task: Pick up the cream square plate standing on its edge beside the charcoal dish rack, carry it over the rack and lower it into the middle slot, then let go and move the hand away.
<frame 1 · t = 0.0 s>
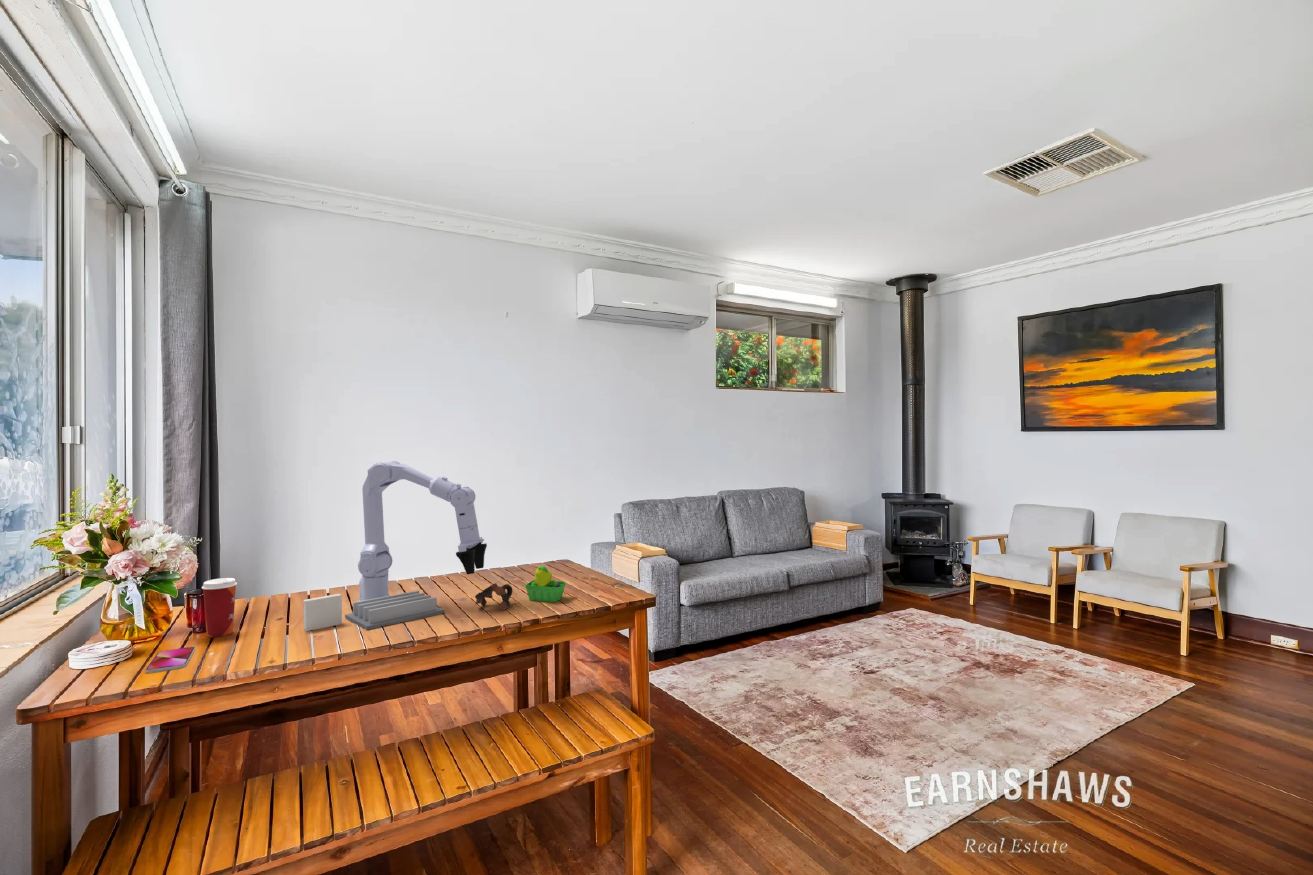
hand: (475, 570, 189), 11 cm above the table, tool pointing down, fingers open, 7 cm apart
paper cup: (219, 634, 163), on the table
smartphone: (171, 662, 144), on the table
fruit basket: (545, 600, 195), on the table
dish rack: (395, 615, 179), on the table
dark brown curved piece: (496, 607, 187), on the table
cream plate: (323, 626, 169), on the table
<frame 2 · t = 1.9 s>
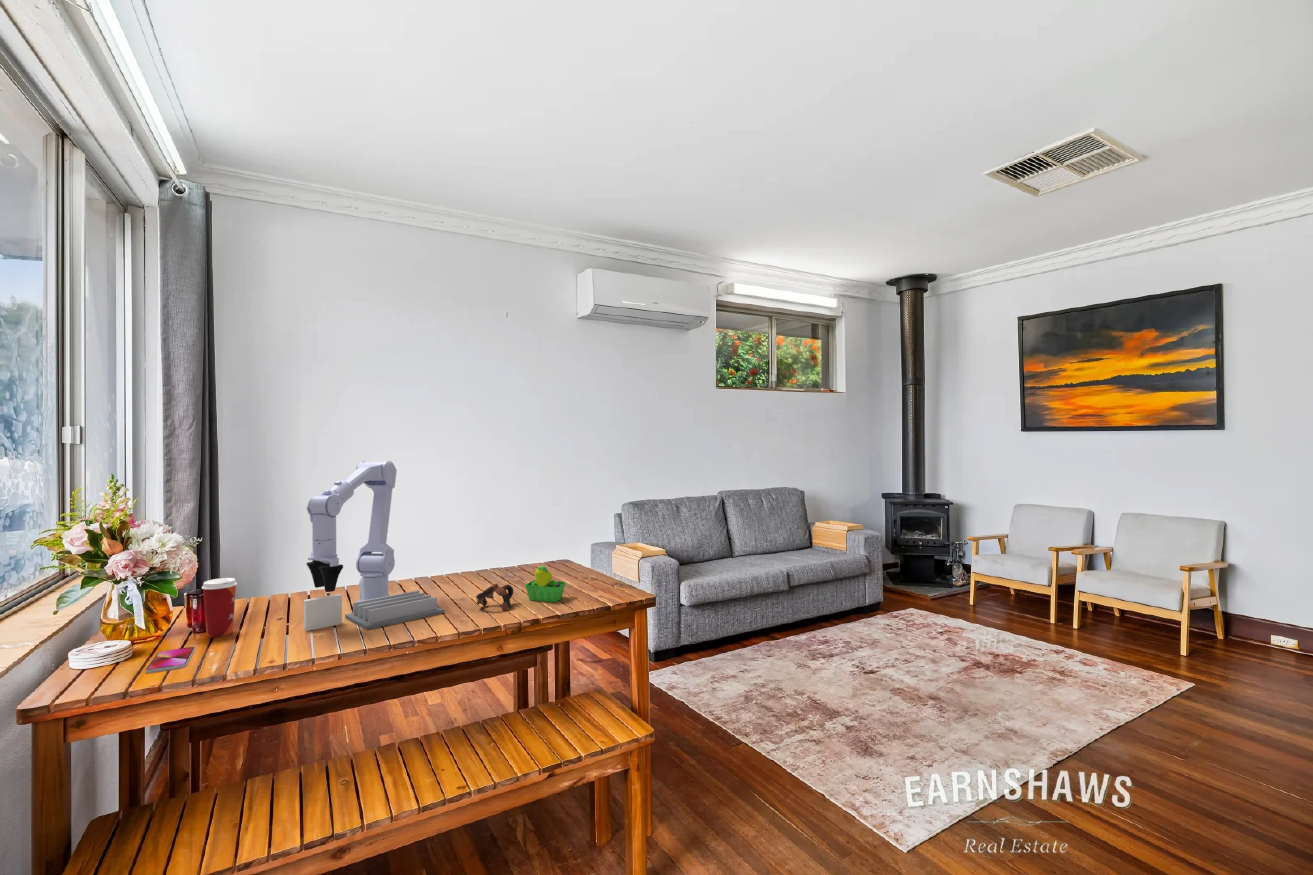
hand: (324, 589, 168), 10 cm above the table, tool pointing down, fingers open, 7 cm apart
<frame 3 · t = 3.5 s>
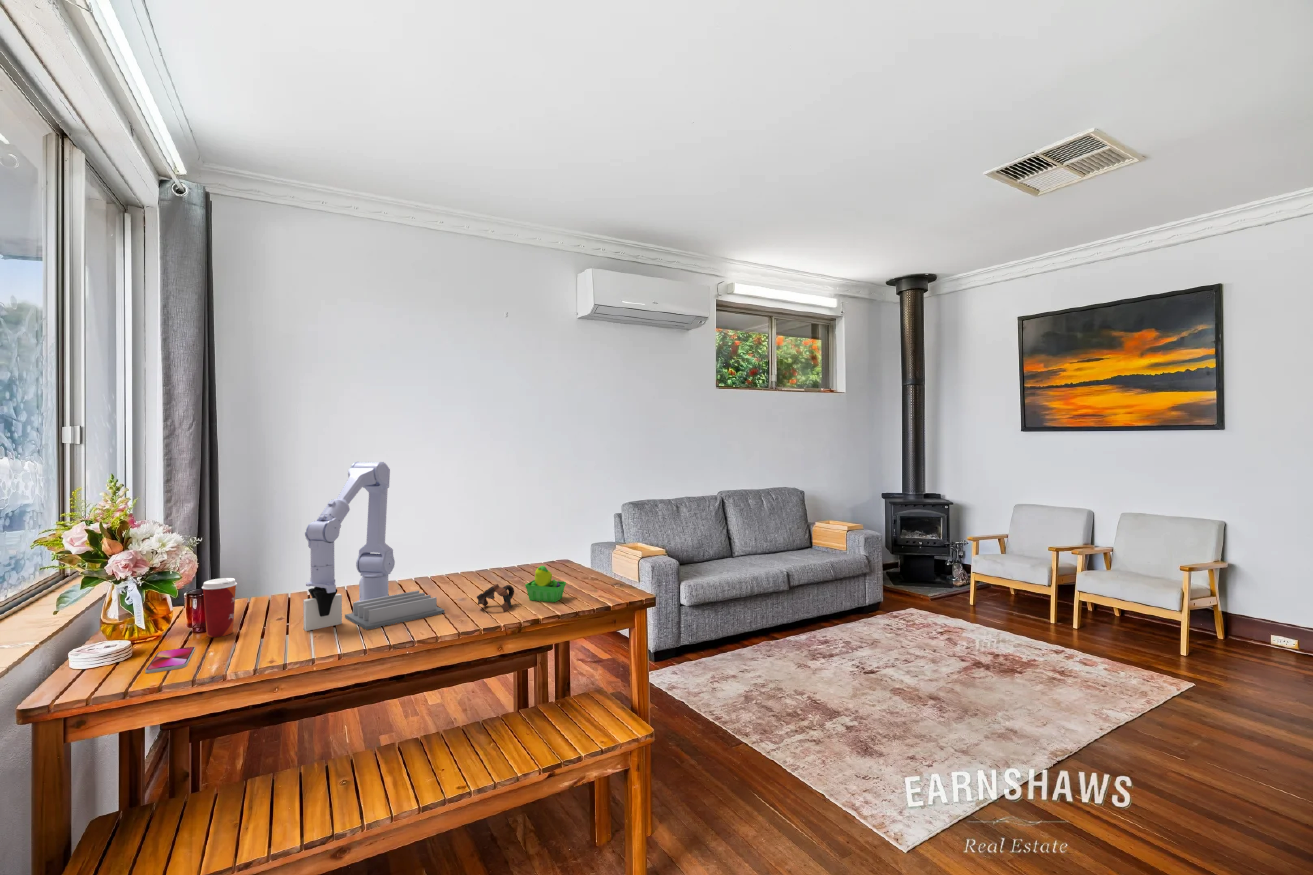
hand: (322, 614, 169), 3 cm above the table, tool pointing down, fingers closed on cream plate, 2 cm apart
cream plate: (323, 626, 169), on the table, touching gripper
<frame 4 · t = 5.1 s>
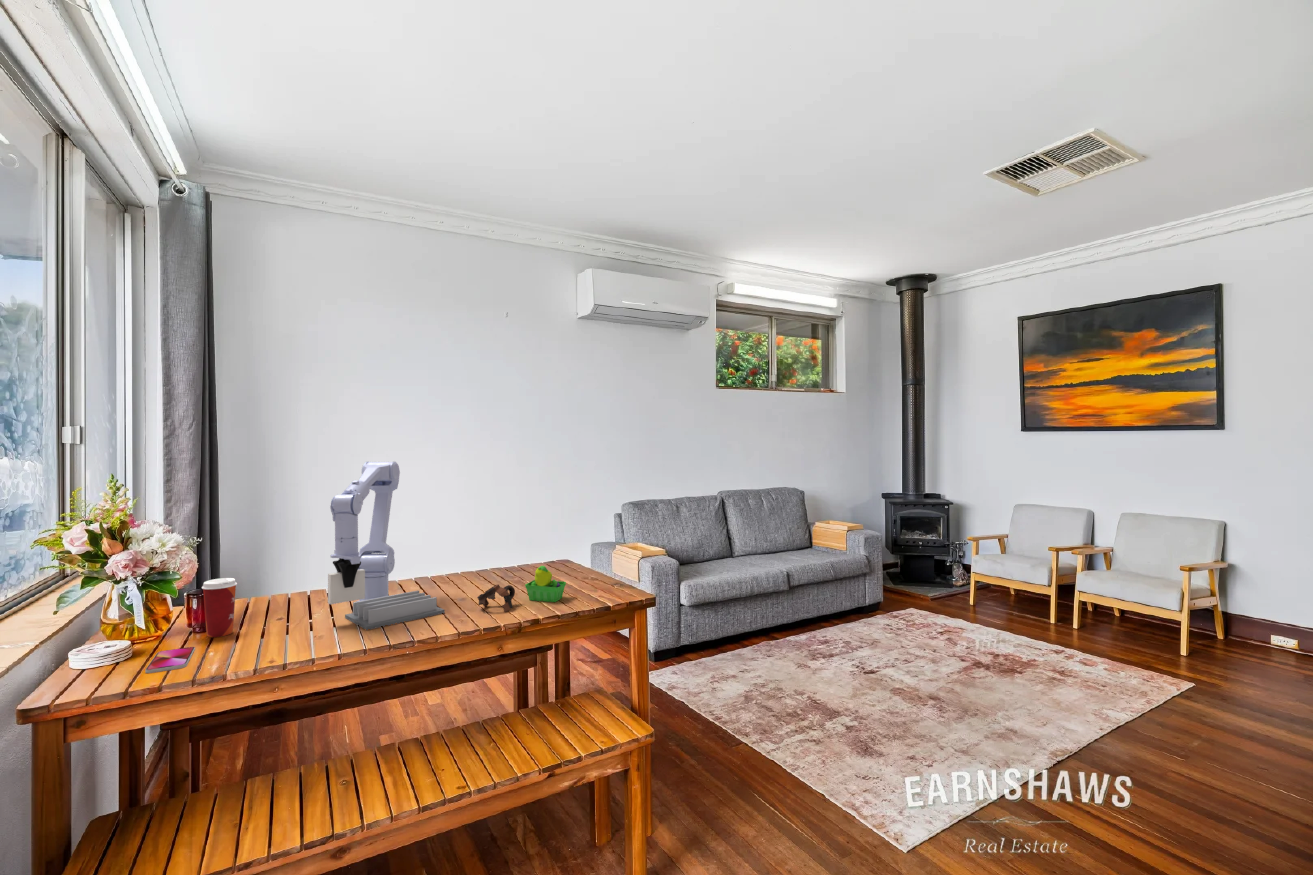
hand: (347, 586, 172), 10 cm above the table, tool pointing down, fingers closed on cream plate
cream plate: (346, 600, 172), point 6 cm above the table, touching gripper
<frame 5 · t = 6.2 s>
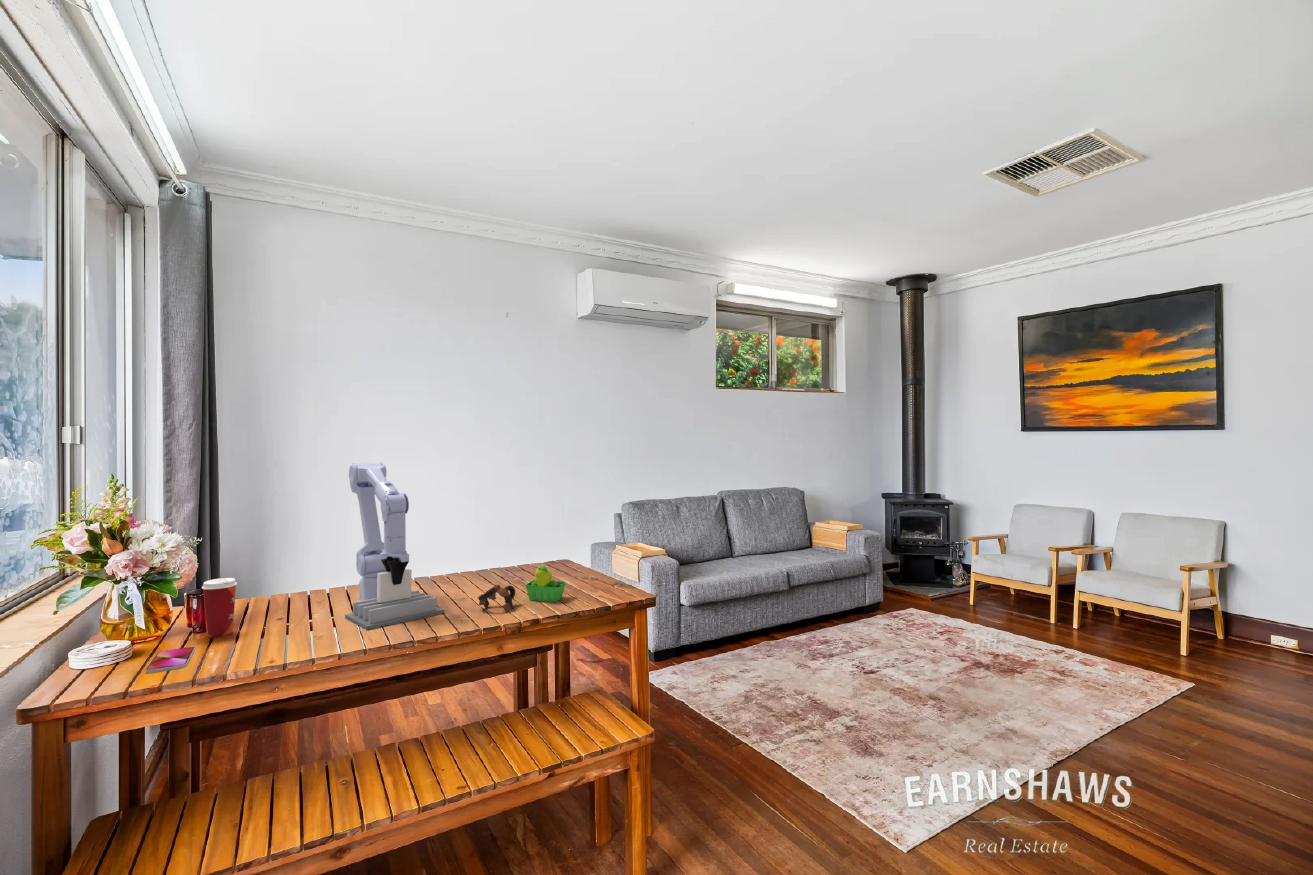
hand: (395, 583, 178), 9 cm above the table, tool pointing down, fingers closed on cream plate
cream plate: (394, 599, 178), point 5 cm above the table, touching gripper
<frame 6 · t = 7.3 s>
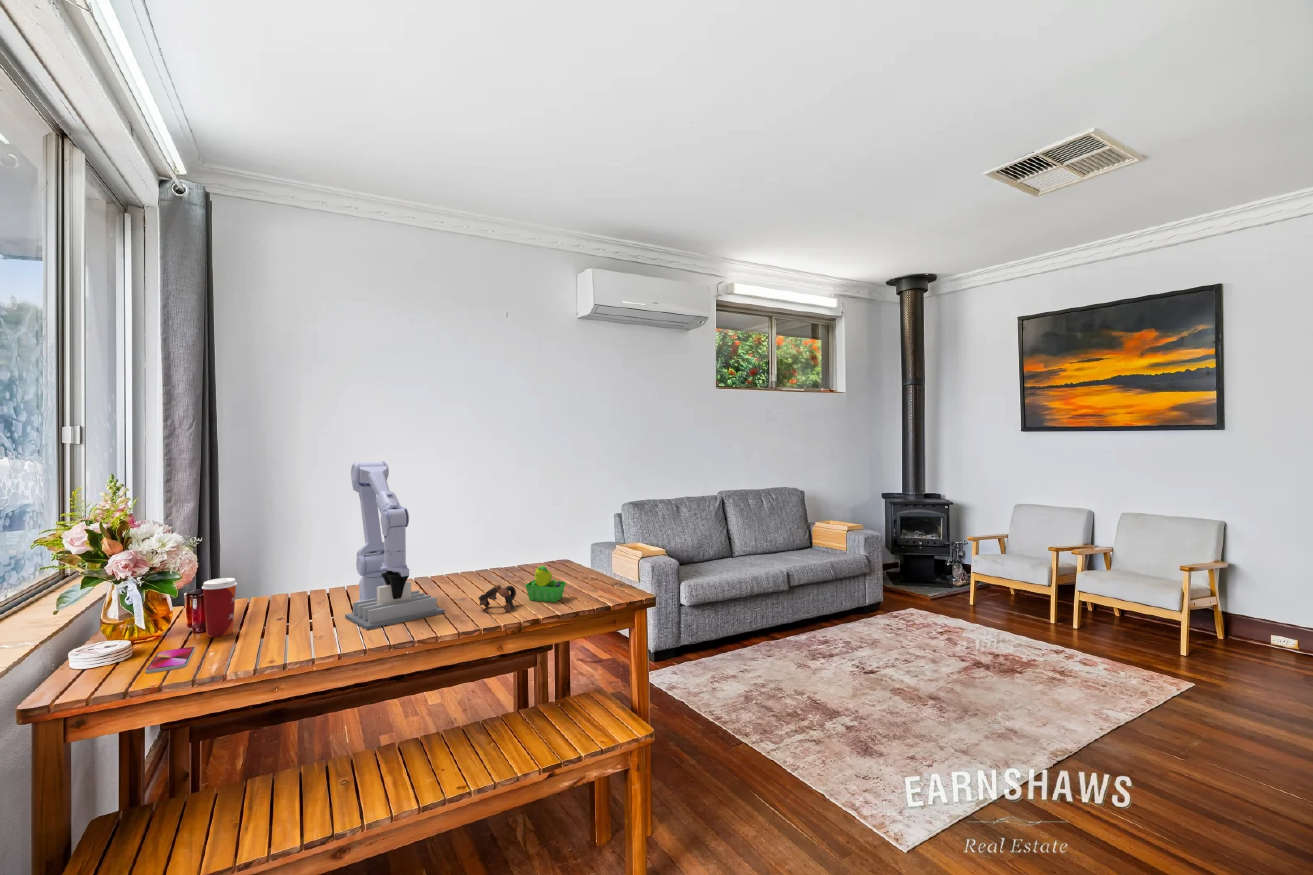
hand: (395, 597, 179), 5 cm above the table, tool pointing down, fingers closed
cream plate: (394, 612, 178), point 1 cm above the table, touching dish rack
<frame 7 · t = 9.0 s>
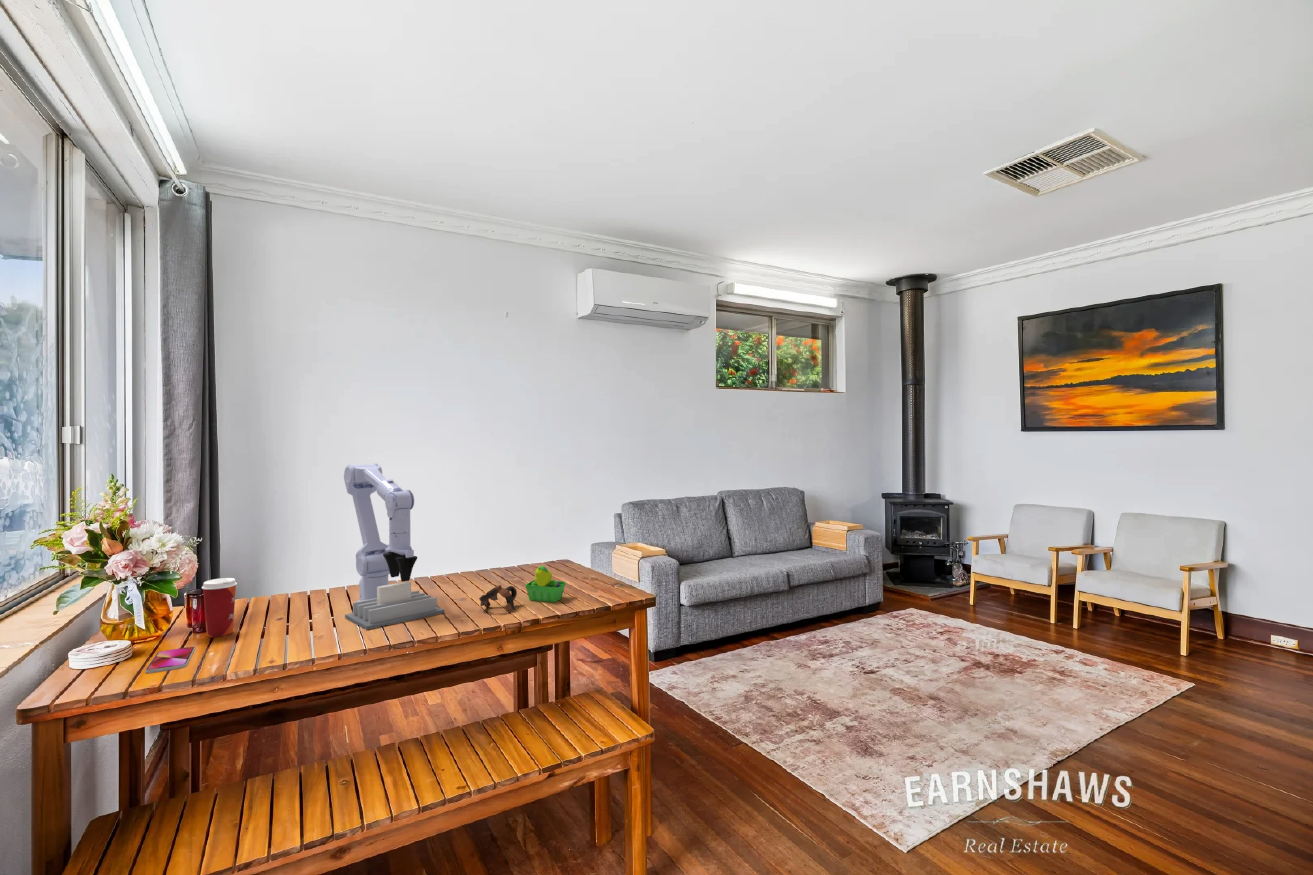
hand: (400, 578, 181), 10 cm above the table, tool pointing down, fingers open, 7 cm apart
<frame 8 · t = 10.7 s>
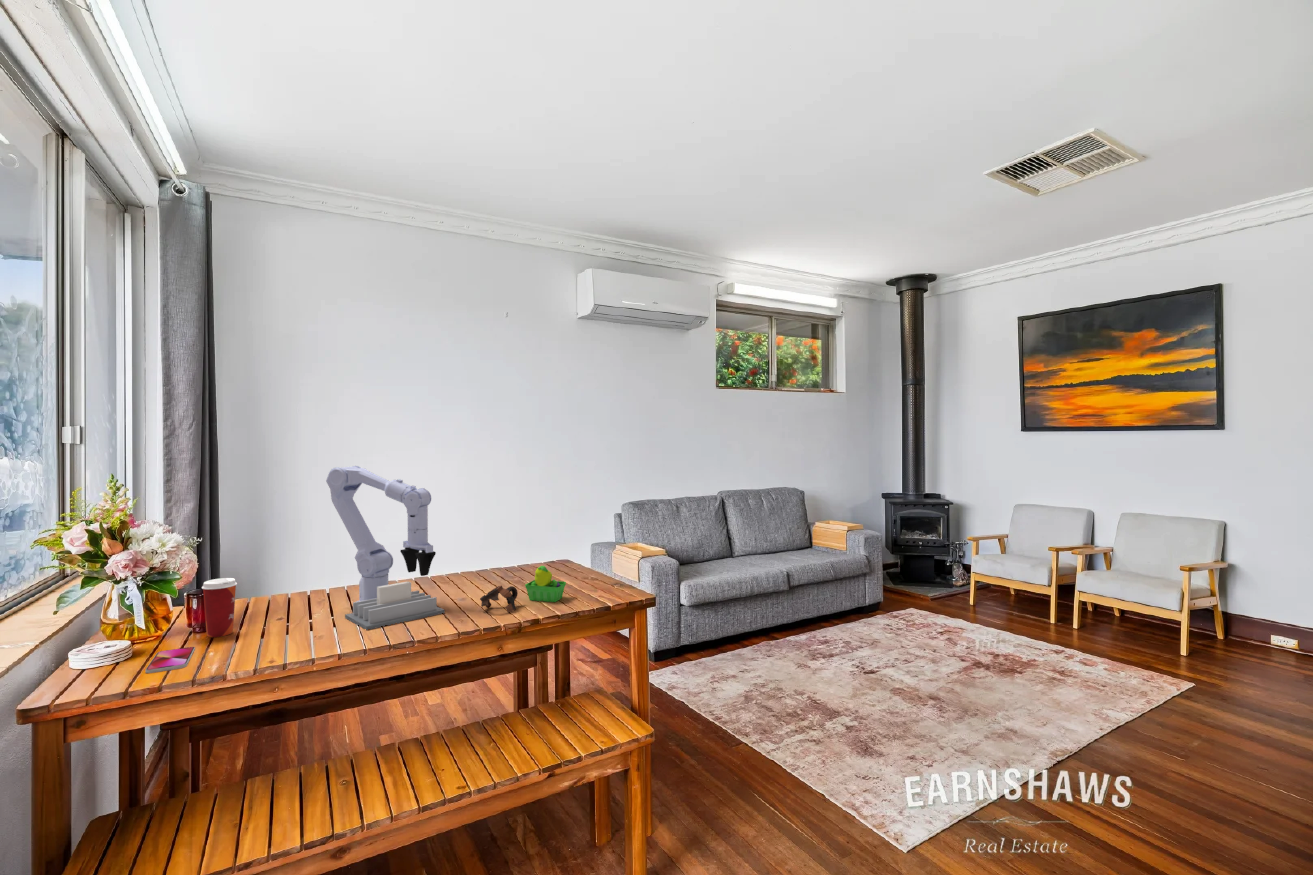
hand: (418, 573, 188), 10 cm above the table, tool pointing down, fingers open, 7 cm apart
at the end: cream plate 0.3 cm off-centre on the dish rack, point 1.0 cm above the dish rack's base; cream plate tilted 0°; the gripper is holding nothing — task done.
